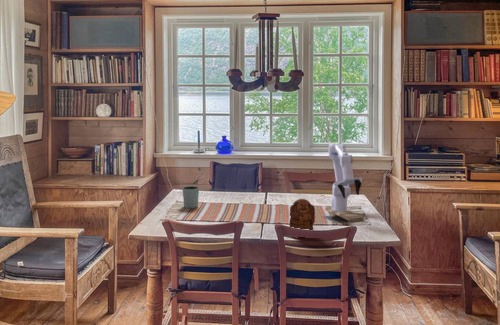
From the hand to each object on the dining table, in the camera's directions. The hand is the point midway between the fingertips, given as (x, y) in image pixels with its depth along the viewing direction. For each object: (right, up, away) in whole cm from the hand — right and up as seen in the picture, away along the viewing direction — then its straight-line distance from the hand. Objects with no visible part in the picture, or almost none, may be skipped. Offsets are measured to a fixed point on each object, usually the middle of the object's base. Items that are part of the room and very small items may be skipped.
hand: (350, 195), depth 246 cm
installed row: (+1, -13, +9) cm, 16 cm away
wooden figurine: (-29, -18, -24) cm, 42 cm away
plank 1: (-8, -11, +9) cm, 16 cm away
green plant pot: (-91, -9, +32) cm, 97 cm away
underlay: (-3, -13, +8) cm, 16 cm away
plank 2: (-5, -12, +2) cm, 13 cm away
